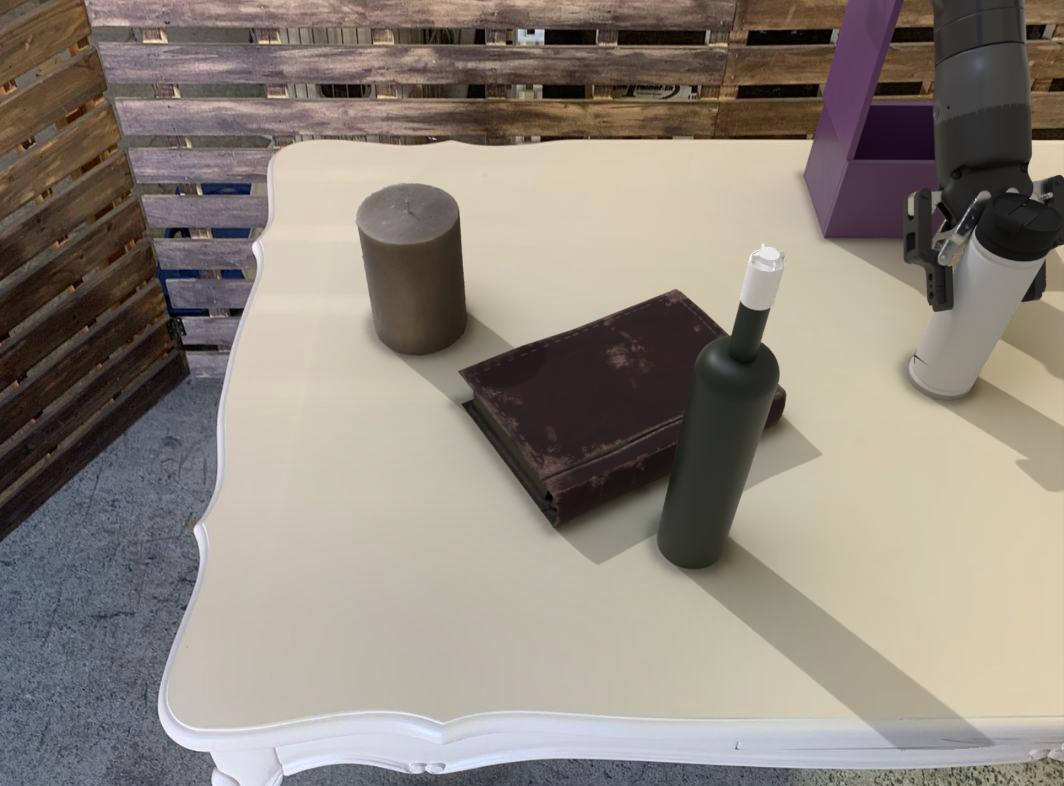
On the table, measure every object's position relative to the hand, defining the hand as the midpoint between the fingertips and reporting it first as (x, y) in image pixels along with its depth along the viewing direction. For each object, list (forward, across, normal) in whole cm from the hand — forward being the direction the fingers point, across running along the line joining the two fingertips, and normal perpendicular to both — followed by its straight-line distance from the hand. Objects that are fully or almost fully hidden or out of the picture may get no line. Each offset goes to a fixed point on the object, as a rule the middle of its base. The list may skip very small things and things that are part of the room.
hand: (987, 305), depth 80 cm
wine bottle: (+17, -30, -2) cm, 35 cm away
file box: (-13, +7, +28) cm, 32 cm away
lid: (-28, -1, +16) cm, 32 cm away
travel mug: (+7, 0, +9) cm, 11 cm away
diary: (+6, -33, +9) cm, 34 cm away
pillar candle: (-5, -50, +21) cm, 54 cm away
